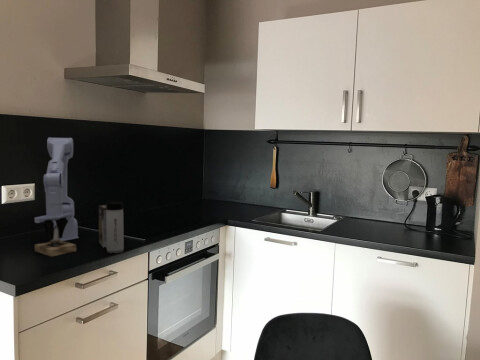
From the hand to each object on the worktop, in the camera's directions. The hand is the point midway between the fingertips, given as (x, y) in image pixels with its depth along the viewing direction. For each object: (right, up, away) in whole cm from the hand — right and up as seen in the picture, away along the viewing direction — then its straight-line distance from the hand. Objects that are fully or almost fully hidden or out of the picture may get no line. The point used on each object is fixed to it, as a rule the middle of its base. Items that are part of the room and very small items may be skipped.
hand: (55, 238), depth 154 cm
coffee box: (+17, -4, +12) cm, 21 cm away
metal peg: (0, -3, 0) cm, 3 cm away
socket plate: (0, -5, 0) cm, 5 cm away
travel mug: (+23, -5, +1) cm, 23 cm away
